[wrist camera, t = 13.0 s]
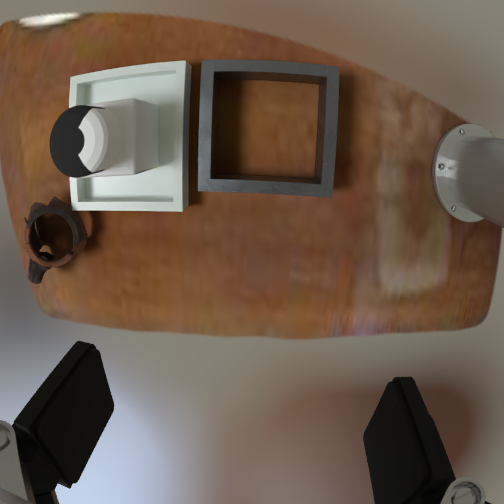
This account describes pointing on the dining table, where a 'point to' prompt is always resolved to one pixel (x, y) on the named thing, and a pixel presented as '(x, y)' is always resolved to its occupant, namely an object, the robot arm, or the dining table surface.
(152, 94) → the tray
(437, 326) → the dining table surface
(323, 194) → the holder
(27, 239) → the broken pottery ring
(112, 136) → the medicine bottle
